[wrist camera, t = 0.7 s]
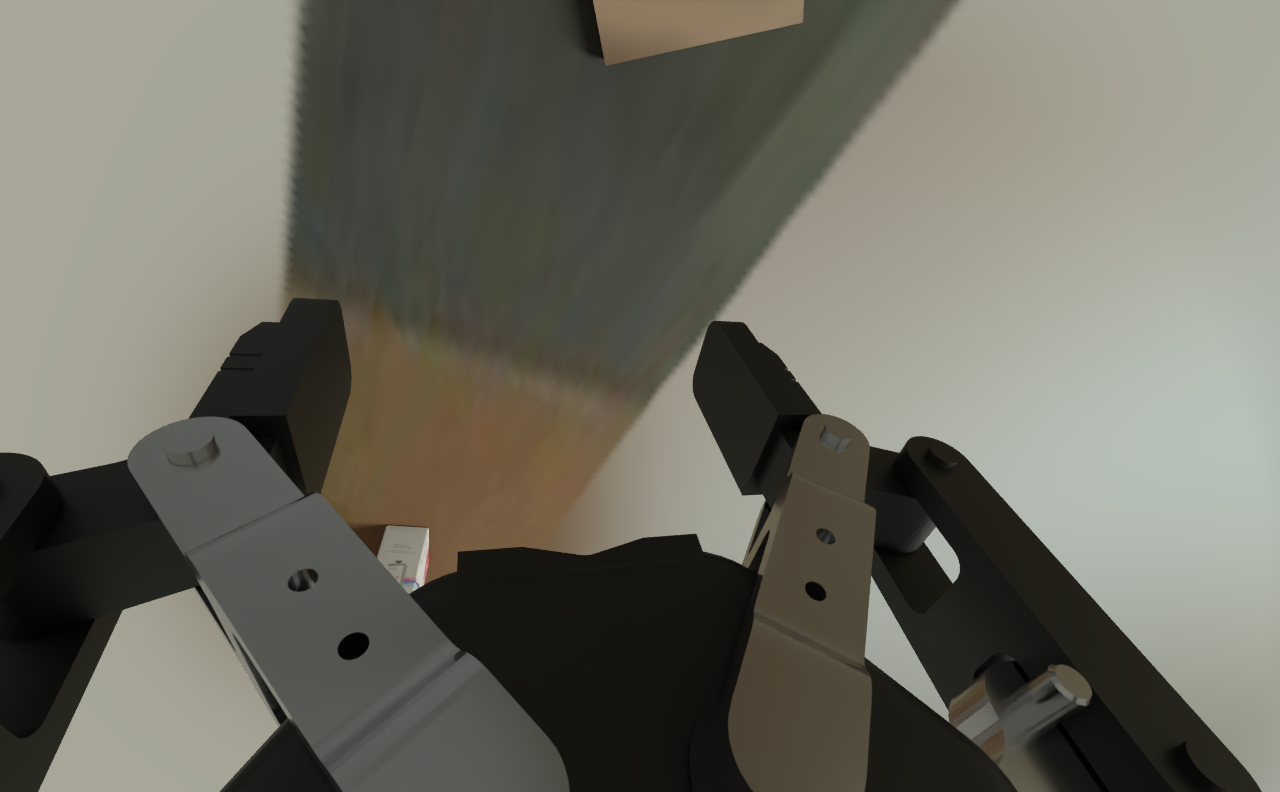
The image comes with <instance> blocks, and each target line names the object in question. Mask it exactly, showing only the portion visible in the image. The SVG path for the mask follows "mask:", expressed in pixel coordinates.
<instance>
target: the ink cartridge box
mask: <svg viewBox="0 0 1280 792" xmlns="http://www.w3.org/2000/svg"><path fill="white" fill-rule="evenodd" d="M377 559H378V560H379V561H380V562H381V563H382V564H383V566H384V567H385V568H386V569H387V570H388V571H389V572H390V573H391V575H392V576H393V577H394V578H395V579H396V580H397V581H398V583H399V584H400V585H401V586H402V587H403V588H404V589H405V590H406V592H407V593H408V594H410V593H411V592H413V591H414V590H416V589H418V588H419V587H421V586H423V585H424V583H425V578H426V574H427V569H428V565H429V528H422V527H407V526H392V525H388V526H386V529H385V532H384V536H383V539H382V542H381V545H380V548H379V552H378V555H377Z"/></svg>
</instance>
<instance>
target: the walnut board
mask: <svg viewBox="0 0 1280 792" xmlns="http://www.w3.org/2000/svg"><path fill="white" fill-rule="evenodd" d="M593 3H594V8H595V13H596V19H597V24H598V29H599V34H600V40H601V45H602V50H603V55H604V60H605V66H607V65H611V64H616V63H620V62H625V61H630V60H634V59H639V58H643V57H648V56H652V55H657V54H662V53H666V52H671V51H675V50H680V49H684V48H689V47H693V46H698V45H703V44H707V43H712V42H716V41H721V40H725V39H730V38H735V37H739V36H744V35H748V34H753V33H757V32H762V31H766V30H771V29H776V28H780V27H785V26H789V25H794V24H798V23H803V7H804V0H593Z"/></svg>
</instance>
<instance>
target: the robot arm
mask: <svg viewBox="0 0 1280 792" xmlns="http://www.w3.org/2000/svg"><path fill="white" fill-rule="evenodd" d="M787 369H788V368H787V367H786V365H785V364H784V363H783V361H782V360H781V359H780V357H779V356H778V355H777V354H776V353H774V352H773V351H772V350H770V349H769V348H768V347H766V346H765V345H764V344H762V343H758V341H757V340H756V338H755V337H754V336H753V334H752V333H751V331H750V330H749V328H748V327H747V326H746V325H745V324H744V323H742V322H727V321H713V322H712V323H711V324H710V325H709V327H708V329H707V332H706V335H705V339H704V342H703V345H702V348H701V352H700V355H699V358H698V361H697V365H696V368H695V371H694V375H693V393H694V396H695V399H696V401H697V403H698V405H699V407H700V409H701V411H702V413H703V415H704V418H705V419H706V422H707V424H708V426H709V428H710V430H711V432H712V434H713V436H714V438H715V440H716V442H717V444H718V446H719V448H720V450H721V452H722V454H723V456H724V459H725V461H726V463H727V465H728V467H729V469H730V471H731V473H732V475H733V477H734V479H735V481H736V483H737V485H738V487H739V489H740V491H741V493H742V495H761V494H763V496H764V497H765V499H766V500H765V502H764V504H763V506H762V508H761V510H760V513H759V516H758V519H757V522H756V525H755V528H754V531H753V534H752V537H751V539H750V543H749V545H748V548H747V551H746V554H745V558H744V560H743V563H742V565H741V564H739V563H737V562H735V561H733V560H730V559H727V558H725V557H722V556H718V555H715V554H711V553H708V552H703V551H702V548H701V545H700V543H699V540H698V537H697V535H696V534H687V535H674V536H661V537H648V538H642V539H638V540H635V541H632V542H629V543H626V544H623V545H620V546H617V547H614V548H611V549H608V550H605V551H602V552H599V553H595V554H592V555H576V554H568V553H562V552H554V551H547V550H541V549H534V548H526V547H515V548H502V549H489V550H476V551H462V552H458V563H457V572H454V573H451V574H447V575H444V576H442V577H440V578H437V579H435V580H433V581H430V582H428V583H427V584H425V585H423V586H421V587H419V588H418V589H416V590H414V591H413V592H411V593H410V594H408V593H407V592H406V590H405V589H404V588H403V587H402V586H401V585H400V584H399V583H398V581H397V580H396V579H395V578H394V577H393V576H392V575H391V573H390V572H389V571H388V570H387V569H386V568H385V567H384V566H383V564H382V563H381V562H380V561H379V560H378V559H377V558H376V556H375V555H374V554H373V553H372V552H371V551H370V550H369V548H368V547H367V546H366V545H365V544H364V543H363V542H362V541H361V539H360V538H359V537H358V536H357V535H356V534H355V533H354V531H353V530H352V529H351V528H350V527H349V526H348V525H347V524H346V522H345V521H344V520H343V519H342V518H341V517H340V516H339V514H338V513H337V512H336V511H335V510H334V509H333V508H332V506H331V505H330V504H329V503H328V502H327V501H326V500H325V499H324V498H323V497H322V496H321V495H320V494H321V491H322V487H323V484H324V480H325V477H326V474H327V470H328V467H329V463H330V460H331V457H332V453H333V450H334V446H335V443H336V440H337V436H338V433H339V429H340V426H341V423H342V419H343V416H344V413H345V409H346V406H347V402H348V399H349V395H350V390H351V364H350V358H349V352H348V346H347V340H346V334H345V327H344V321H343V315H342V310H341V306H340V304H339V302H338V301H337V300H325V299H306V298H293V299H292V301H291V302H290V304H289V306H288V308H287V310H286V311H285V313H284V315H283V317H282V319H281V321H280V322H279V323H277V322H262V323H260V324H258V325H257V326H255V327H254V328H252V329H251V330H249V331H248V332H246V333H245V334H243V335H241V336H240V338H239V339H238V341H237V342H236V344H235V345H234V347H233V349H232V350H231V352H230V357H227V358H226V360H225V361H224V363H223V364H222V366H221V371H218V372H217V374H216V376H215V377H214V379H213V380H212V382H211V384H210V385H209V387H208V388H207V390H206V392H205V393H204V395H203V396H202V398H201V400H200V401H199V403H198V404H197V406H196V408H195V409H194V411H193V412H192V414H191V416H190V417H189V419H185V420H181V421H178V422H174V423H171V424H169V425H166V426H163V427H161V428H159V429H157V430H155V431H153V432H151V433H150V434H148V435H147V436H145V437H144V438H143V439H141V440H140V441H139V442H138V443H137V444H136V445H135V446H134V447H133V449H132V450H131V452H130V453H129V456H128V459H127V460H124V461H121V462H117V463H112V464H108V465H103V466H98V467H93V468H88V469H83V470H79V471H74V472H68V473H64V474H58V475H53V476H49V475H48V473H47V471H46V470H45V468H44V467H43V465H42V464H41V463H40V462H39V461H38V460H37V459H34V458H32V457H30V456H27V455H23V454H18V453H17V454H16V453H0V792H38V791H39V789H40V786H41V784H42V782H43V780H44V778H45V776H46V773H47V771H48V769H49V767H50V765H51V763H52V761H53V759H54V756H55V754H56V752H57V750H58V748H59V746H60V744H61V741H62V739H63V737H64V735H65V733H66V730H67V728H68V726H69V724H70V722H71V720H72V717H73V716H74V713H75V711H76V709H77V707H78V705H79V703H80V701H81V698H82V696H83V694H84V692H85V690H86V688H87V685H88V683H89V681H90V679H91V677H92V675H93V673H94V671H95V668H96V666H97V664H98V662H99V660H100V658H101V655H102V653H103V651H104V649H105V647H106V645H107V643H108V640H109V638H110V636H111V634H112V632H113V630H114V627H115V625H116V623H117V621H118V619H119V617H120V615H121V613H122V610H124V609H127V608H130V607H133V606H136V605H139V604H143V603H146V602H149V601H152V600H155V599H159V598H162V597H165V596H168V595H171V594H174V593H177V592H181V591H184V590H187V589H190V588H194V589H195V591H196V593H197V594H198V596H199V597H200V599H201V601H202V602H203V604H204V605H205V607H206V609H207V610H208V612H209V613H210V615H211V616H212V618H213V620H214V621H215V623H216V625H217V626H218V628H219V629H220V631H221V632H222V634H223V636H224V637H225V639H226V640H227V642H228V643H229V645H230V647H231V648H232V650H233V652H234V653H235V655H236V656H237V658H238V660H239V661H240V663H241V664H242V666H243V668H244V669H245V671H246V673H247V674H248V676H249V678H250V680H251V681H252V683H253V684H254V686H255V688H256V690H257V692H258V693H259V695H260V697H261V698H262V700H263V702H264V704H265V705H266V707H267V709H268V710H269V712H270V713H271V715H272V717H273V718H274V720H275V722H276V723H277V725H278V726H279V728H278V729H277V730H276V731H275V732H274V733H273V734H272V735H271V736H270V737H269V738H268V740H267V741H266V742H265V743H264V744H263V745H262V746H261V747H260V748H259V749H258V750H257V752H256V753H255V754H254V755H253V756H252V757H251V758H250V759H249V760H248V761H247V762H246V764H245V765H244V766H243V767H242V768H241V769H240V770H239V771H238V772H237V773H236V774H235V776H234V777H233V778H232V779H231V780H230V781H229V782H228V783H227V784H226V785H225V786H224V788H223V789H222V790H221V791H220V792H1262V791H1261V790H1260V788H1259V786H1258V785H1257V783H1256V782H1255V781H1254V779H1253V778H1252V776H1251V775H1250V774H1249V772H1248V771H1247V770H1246V769H1245V768H1244V766H1243V765H1242V764H1241V763H1240V762H1239V761H1238V760H1237V758H1236V757H1235V756H1234V755H1233V754H1232V753H1231V752H1230V751H1229V750H1228V749H1227V747H1226V746H1225V745H1224V744H1223V743H1222V742H1221V741H1220V740H1219V738H1218V737H1217V736H1216V735H1215V734H1214V733H1213V732H1212V731H1211V730H1210V728H1209V727H1208V726H1207V725H1206V724H1205V723H1204V722H1203V721H1202V720H1201V718H1200V717H1199V716H1198V715H1197V714H1196V713H1195V712H1194V711H1193V710H1192V709H1191V707H1190V706H1189V705H1188V704H1187V703H1186V702H1185V701H1184V700H1183V698H1182V697H1181V696H1180V695H1179V694H1178V693H1177V692H1176V691H1175V690H1174V688H1173V687H1172V686H1171V685H1170V684H1169V683H1168V682H1167V681H1166V680H1165V678H1163V676H1162V675H1161V674H1160V673H1159V672H1158V671H1157V670H1156V668H1155V667H1154V666H1153V665H1152V664H1151V663H1150V662H1149V661H1148V660H1147V658H1146V657H1145V656H1144V655H1143V654H1142V653H1141V652H1140V651H1139V650H1138V648H1137V647H1136V646H1135V645H1134V644H1133V643H1132V642H1131V641H1130V640H1129V638H1128V637H1127V636H1126V635H1125V634H1124V633H1123V632H1122V631H1121V630H1120V628H1119V627H1118V626H1117V625H1116V624H1115V623H1114V622H1113V621H1112V620H1111V618H1110V617H1109V616H1108V615H1107V614H1106V613H1105V612H1104V611H1103V610H1102V608H1101V607H1100V606H1099V605H1098V604H1097V603H1096V602H1095V601H1094V599H1093V598H1092V597H1091V596H1090V595H1089V594H1088V593H1087V592H1086V591H1085V589H1083V587H1082V586H1081V585H1080V584H1079V583H1078V582H1077V581H1076V579H1075V578H1074V577H1073V576H1072V575H1071V574H1070V573H1069V572H1068V571H1067V569H1066V568H1065V567H1064V566H1063V565H1062V564H1061V563H1060V562H1059V561H1058V559H1056V557H1055V556H1054V555H1053V554H1052V553H1051V552H1050V551H1049V550H1048V548H1047V547H1046V546H1045V545H1044V544H1043V543H1042V542H1041V541H1040V539H1039V538H1038V537H1037V536H1036V535H1035V534H1034V533H1033V532H1032V531H1031V530H1030V528H1029V527H1028V526H1027V525H1026V524H1025V523H1024V522H1023V521H1022V519H1021V518H1020V517H1019V516H1018V515H1017V514H1016V513H1015V512H1014V511H1013V509H1012V508H1011V507H1010V506H1009V505H1008V504H1007V503H1006V502H1005V501H1004V499H1003V498H1002V497H1001V496H1000V495H999V494H998V493H997V492H996V491H995V489H993V487H992V486H991V485H990V484H989V483H988V482H987V481H986V480H985V479H984V477H983V476H982V475H981V474H980V473H979V472H978V471H977V469H976V468H975V467H974V466H973V465H972V464H971V463H970V462H969V461H968V459H966V457H964V456H963V455H962V454H961V453H960V452H959V451H957V450H956V449H954V448H953V447H951V446H949V445H948V444H946V443H944V442H941V441H939V440H936V439H933V438H929V437H923V436H917V437H912V438H910V439H909V440H908V441H907V443H906V444H905V446H904V447H903V449H902V450H901V452H900V453H897V452H893V451H888V450H884V449H880V448H875V447H871V446H870V445H869V442H868V440H867V438H866V437H865V436H864V434H863V433H862V432H861V431H860V430H858V429H857V428H856V427H855V426H853V425H852V424H850V423H849V422H847V421H845V420H843V419H841V418H838V417H835V416H831V415H826V414H821V412H820V411H819V410H818V409H817V407H816V406H815V404H814V403H813V402H812V400H811V399H810V398H809V396H808V395H807V394H806V392H805V391H804V390H803V388H802V387H801V386H800V384H799V383H798V382H796V379H795V377H794V376H793V375H792V373H791V372H790V371H788V370H787ZM935 527H937V528H938V530H939V531H940V532H941V534H942V535H943V536H944V538H945V539H946V541H947V542H948V543H949V545H950V546H951V547H952V548H953V550H954V551H955V553H956V555H957V557H958V560H959V563H960V573H959V576H958V578H957V580H956V581H955V582H954V583H952V582H951V581H950V579H949V578H948V576H947V575H946V574H945V572H944V571H943V569H942V568H941V566H940V565H939V563H938V562H937V560H936V559H935V558H934V556H933V555H932V553H931V552H930V550H929V549H928V547H927V546H926V545H925V543H924V541H925V540H926V538H927V537H928V536H929V535H930V534H931V532H932V531H933V530H934V529H935ZM871 576H872V577H873V579H874V581H875V583H876V584H877V586H878V588H879V590H880V591H881V593H882V595H883V597H884V598H885V600H886V602H887V604H888V606H889V607H890V609H891V611H892V612H893V614H894V616H895V618H896V620H897V621H898V623H899V625H900V626H901V628H902V630H903V632H904V634H905V635H906V637H907V639H908V641H909V642H910V644H911V646H912V648H913V649H914V651H915V653H916V654H917V656H918V658H919V660H920V662H921V663H922V665H923V667H924V668H925V670H926V672H927V674H928V675H929V677H930V679H931V681H932V683H933V684H934V686H935V688H936V690H937V691H938V693H939V695H940V697H941V698H942V700H943V702H944V703H945V705H946V707H947V709H948V711H949V721H950V723H949V722H948V721H946V720H945V719H944V718H942V717H941V716H940V715H939V714H937V713H936V712H935V711H933V710H932V709H931V708H930V707H928V706H927V705H926V704H924V703H923V702H922V701H921V700H919V699H918V698H917V697H915V696H914V695H913V694H911V693H910V692H909V691H907V690H906V689H905V688H904V687H902V686H901V685H900V684H898V683H897V682H896V681H895V680H893V679H892V678H891V677H889V676H888V675H887V674H886V673H884V672H883V671H882V670H881V669H879V668H878V667H877V666H875V665H874V664H873V663H872V662H870V661H869V660H868V659H866V658H865V644H866V632H867V620H868V619H867V618H868V607H869V594H870V583H871Z"/></svg>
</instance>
